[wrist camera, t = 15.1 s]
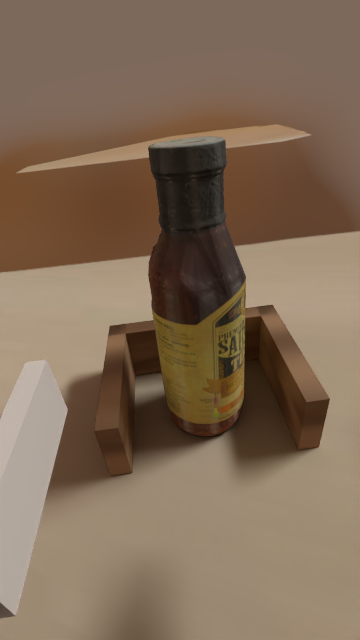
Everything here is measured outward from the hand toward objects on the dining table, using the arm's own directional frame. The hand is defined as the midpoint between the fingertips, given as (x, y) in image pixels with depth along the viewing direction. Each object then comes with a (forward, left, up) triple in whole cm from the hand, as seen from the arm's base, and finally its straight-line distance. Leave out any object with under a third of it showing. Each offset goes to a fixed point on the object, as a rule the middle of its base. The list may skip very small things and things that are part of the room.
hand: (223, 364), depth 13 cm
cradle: (-5, -8, -13) cm, 16 cm away
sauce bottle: (-5, -8, -13) cm, 16 cm away
